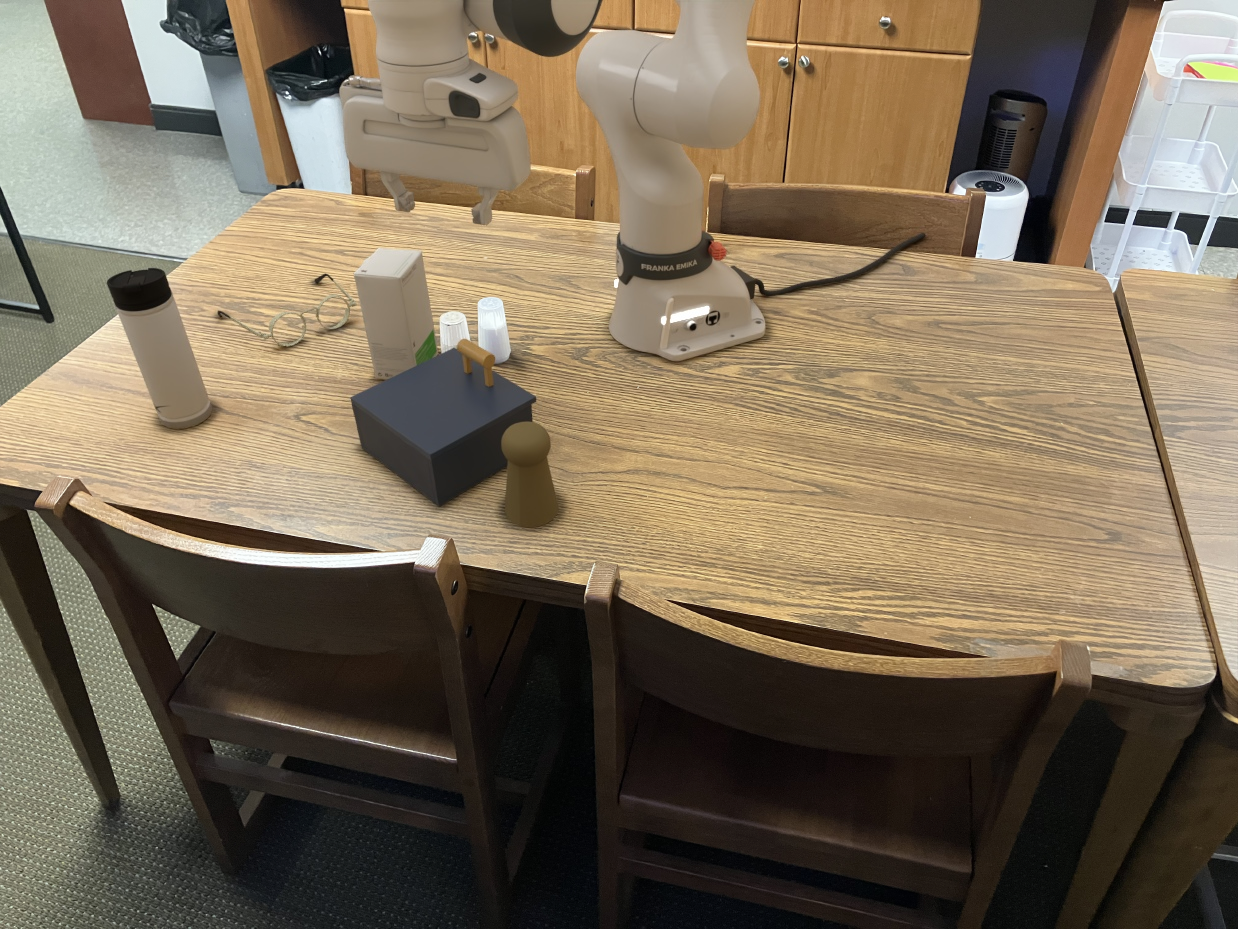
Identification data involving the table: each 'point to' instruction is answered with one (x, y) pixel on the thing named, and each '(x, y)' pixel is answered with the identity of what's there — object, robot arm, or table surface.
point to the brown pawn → (528, 475)
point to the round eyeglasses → (273, 321)
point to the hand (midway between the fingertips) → (443, 216)
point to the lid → (444, 399)
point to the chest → (445, 471)
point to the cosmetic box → (396, 310)
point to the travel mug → (161, 346)
